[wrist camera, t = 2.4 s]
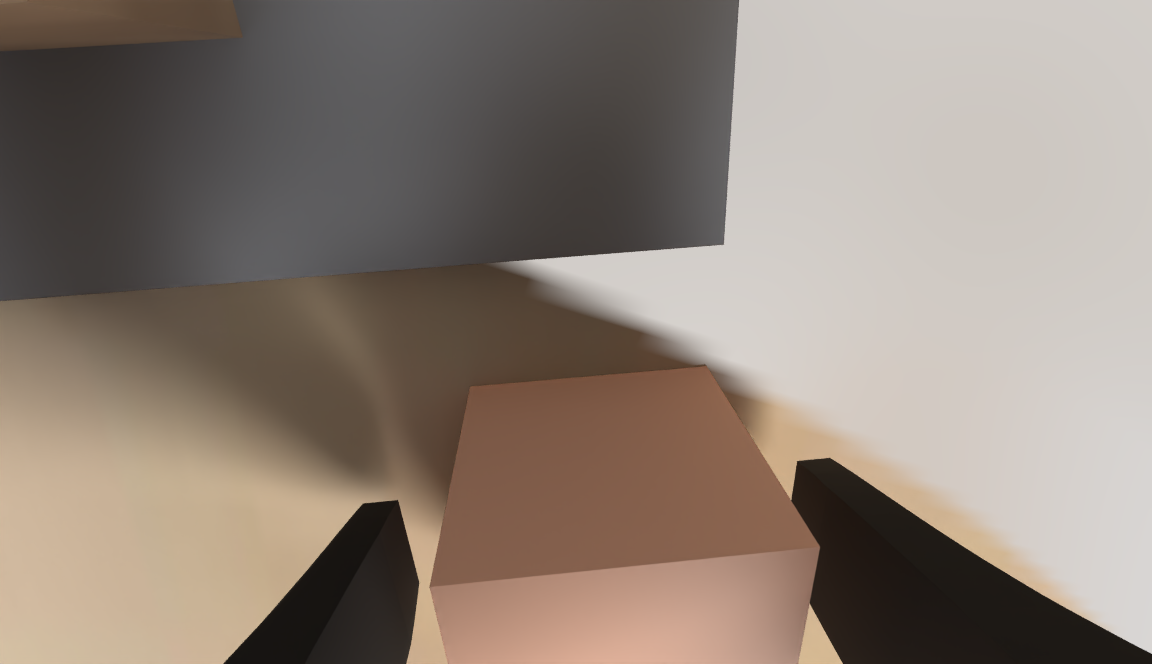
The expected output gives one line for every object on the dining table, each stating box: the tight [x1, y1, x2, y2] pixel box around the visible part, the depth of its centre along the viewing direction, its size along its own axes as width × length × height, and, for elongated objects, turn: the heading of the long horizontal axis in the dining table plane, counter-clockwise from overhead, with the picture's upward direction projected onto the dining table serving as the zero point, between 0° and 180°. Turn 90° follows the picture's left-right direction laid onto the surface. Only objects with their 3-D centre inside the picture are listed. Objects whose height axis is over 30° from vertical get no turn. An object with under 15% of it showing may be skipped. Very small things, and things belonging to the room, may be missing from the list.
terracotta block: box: [430, 366, 820, 664], centre depth 9 cm, size 4×4×4 cm
